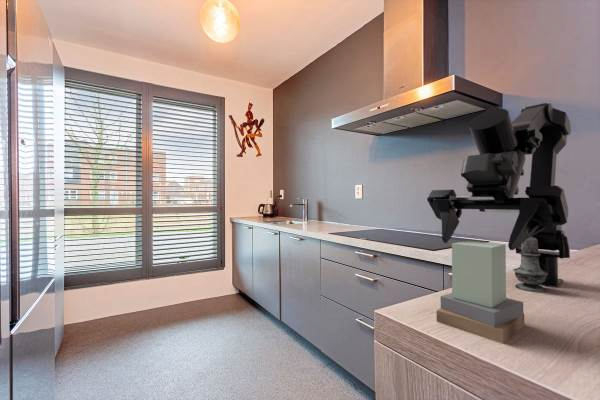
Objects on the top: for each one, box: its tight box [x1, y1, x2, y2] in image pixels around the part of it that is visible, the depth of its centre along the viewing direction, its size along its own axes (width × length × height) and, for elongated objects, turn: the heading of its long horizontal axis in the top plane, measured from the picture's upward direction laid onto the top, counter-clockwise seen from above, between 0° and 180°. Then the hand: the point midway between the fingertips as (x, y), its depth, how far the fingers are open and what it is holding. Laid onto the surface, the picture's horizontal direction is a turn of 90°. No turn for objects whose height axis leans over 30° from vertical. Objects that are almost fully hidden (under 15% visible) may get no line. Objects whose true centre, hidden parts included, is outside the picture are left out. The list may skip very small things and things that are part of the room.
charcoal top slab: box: [440, 292, 524, 327], centre depth 44 cm, size 8×8×2 cm
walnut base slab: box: [435, 307, 525, 345], centre depth 44 cm, size 9×9×2 cm
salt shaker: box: [512, 236, 548, 293], centre depth 61 cm, size 6×6×12 cm
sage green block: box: [451, 240, 507, 308], centre depth 44 cm, size 6×6×8 cm
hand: (474, 244), depth 44 cm, fingers open, 9 cm apart
